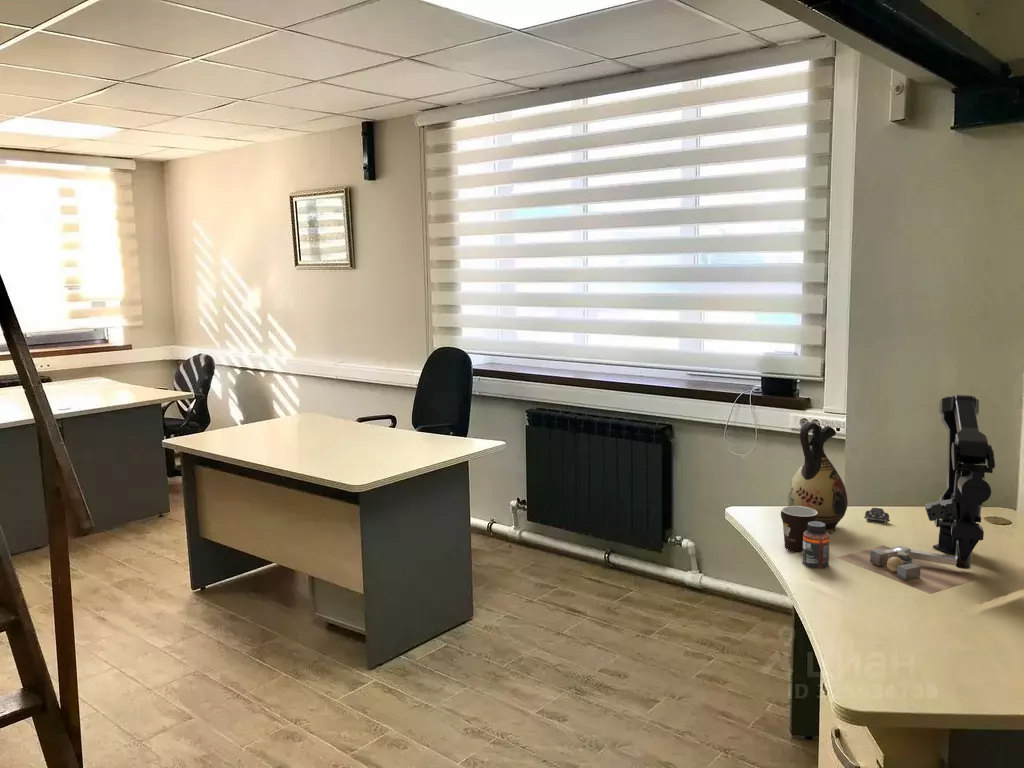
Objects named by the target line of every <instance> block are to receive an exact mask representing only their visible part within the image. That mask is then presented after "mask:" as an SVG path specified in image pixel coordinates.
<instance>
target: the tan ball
mask: <svg viewBox="0 0 1024 768" xmlns="http://www.w3.org/2000/svg"><path fill="white" fill-rule="evenodd" d="M899 565H904V563H903V561H902V560H901V559H900V558H898V557H891V558H889V559H888V561H887V567H888V569H889V570H890V571H892V572H895V573H897V567H898V566H899Z"/></svg>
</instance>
